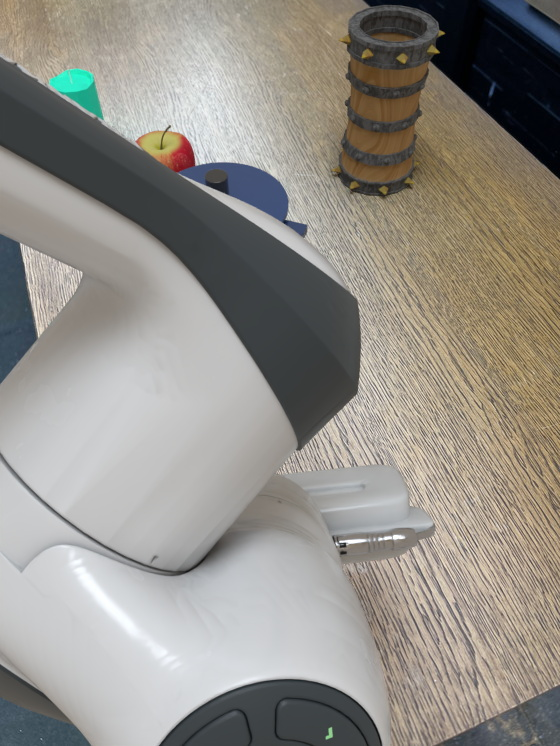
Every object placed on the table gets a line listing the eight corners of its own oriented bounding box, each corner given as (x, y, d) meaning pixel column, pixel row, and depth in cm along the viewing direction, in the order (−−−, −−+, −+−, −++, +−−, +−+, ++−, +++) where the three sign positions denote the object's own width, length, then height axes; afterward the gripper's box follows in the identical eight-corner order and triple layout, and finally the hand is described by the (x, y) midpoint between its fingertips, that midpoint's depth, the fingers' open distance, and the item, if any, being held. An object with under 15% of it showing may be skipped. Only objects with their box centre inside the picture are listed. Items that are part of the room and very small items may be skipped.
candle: (104, 133, 98) (85, 54, 88) (115, 155, 94) (96, 74, 85) (65, 143, 96) (40, 63, 87) (74, 165, 93) (50, 84, 83)
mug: (337, 205, 87) (348, 55, 71) (317, 133, 97) (323, -11, 81) (431, 197, 88) (463, 48, 72) (402, 126, 98) (424, -17, 82)
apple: (189, 213, 86) (179, 146, 78) (128, 205, 87) (112, 138, 79) (206, 176, 91) (198, 109, 83) (148, 169, 92) (135, 103, 84)
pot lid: (259, 272, 65) (258, 236, 61) (125, 239, 68) (116, 203, 64) (306, 185, 73) (307, 149, 70) (186, 159, 77) (181, 124, 73)
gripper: (443, 479, 33) (380, 425, 47) (39, 522, 32) (94, 454, 46) (449, 595, 34) (385, 508, 48) (55, 642, 33) (105, 539, 46)
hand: (241, 482), depth 47 cm, fingers closed
